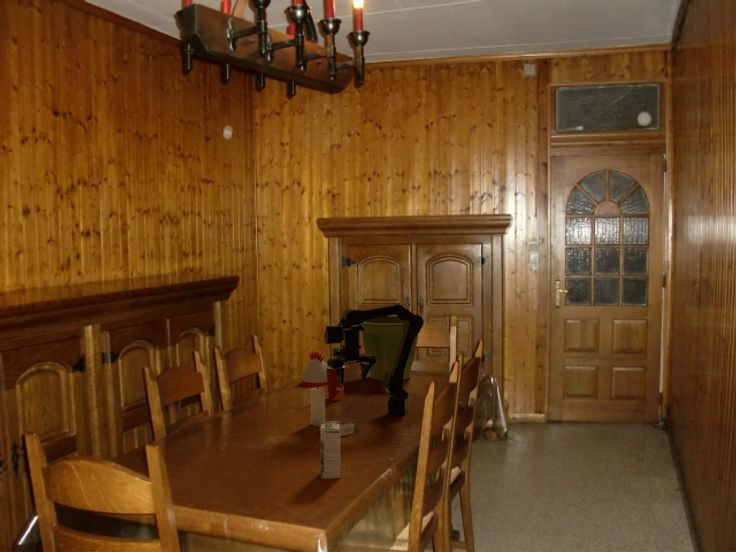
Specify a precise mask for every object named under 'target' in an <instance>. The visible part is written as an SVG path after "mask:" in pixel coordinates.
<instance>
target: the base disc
mask: <svg viewBox="0 0 736 552" xmlns="http://www.w3.org/2000/svg"><path fill="white" fill-rule="evenodd" d="M328 423H334V424H340V437H346V436H350V435H353V433H354V432H355V424H353V422H352V421H351V422H350V421H345V420H329V421H325V423H323V424H328ZM319 433H320V434H321V425H320V426H319ZM349 434H350V435H349ZM345 435H346V436H345Z"/></svg>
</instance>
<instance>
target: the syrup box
mask: <svg viewBox="0 0 736 552" xmlns="http://www.w3.org/2000/svg"><path fill="white" fill-rule="evenodd" d="M319 445H320V446H319V452H320V453H319V455H320V456H319V457H320V458H319V459H320V460H319V461H320V470H319V471H320V479H321V480H326V479H327V480H329V479H341V473H342V472H341V436H340V424H334V423H328V424H321V433H320V442H319Z"/></svg>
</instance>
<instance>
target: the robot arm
mask: <svg viewBox="0 0 736 552" xmlns="http://www.w3.org/2000/svg"><path fill="white" fill-rule="evenodd" d="M385 316H398V317H399V318H400V319H401V320H403V321H404V323H403V337H402V340H401V344H400V347H399V350H398V353H397V356H396V359H395V362H394V365H393V369H392V370H391V372H390V373H387V372H386V373H385V378H384V380H383V381H381V382H382V383H383V385H382V387H383V389H384V391H386V393H387V394H388V396H389V399H388V401H387V415H395V416H404V415H406V414H407V413H408V412H409V410H408V405H407V404H408V402H407V400H408V399H409V393H408V392H407V391H406V390H405V389H404V383H405V380H404V376H403V374H404V370H405V367H406V364H407V360H408V357H409V354H410V351H411V348H412V345H413V342H414V339H415V337H416V336H417V335H418V336H419V333H420V332H421V331H422V329H423V327H424V321H425V320H424V319H423V317H422V316H421V315H418V314H415V313H413V312H411V311H410V310H409V309H407V308H406V307H405V306H403V305H402V304H401V303H392V304H388V305H387V304H386V305H384V306H375V307H371V308H365V309H364V308H348V309H346V310H345V311H344V312H343V313H342V317H341V319H340V321H339V322H338V323H337V325H325V328H324V329H325V330H324V333H323V339H324V344H325V345H332V344H333V345H334V344H342V342H343V343H344V344H342V348H341V349H340V348H339V347H335V348H333V349H332V357H333V358H328V360H327V363H326V364H327V366H329V367H331V368H332V369H334V370H335V371H336V373H337V376H338V379H339V381H340V384H341V385H343V386H344V382H345V381H344V380H345V367H344V368H342V367H343V365H344V366H345V365H350V364H358V363H359V365H360V369H361V371H360V372H361V373H360V376H361V377H360V381H361V382H362V383H364V382H365V380H366V378H367V376H368V373H369V372H370V368H371V367H372V366H373V365H374V364H373V363H376V357H375V356H374V355H370V354H366V353H365V354H361V353H360V350H361V349H362V345H361V344H360V332H361V331H364V330H365V329H364V328H363V327H362V326H361V323H363V322H365V321H367V320H369V319H374V318H380V317H385Z"/></svg>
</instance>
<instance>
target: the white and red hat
mask: <svg viewBox="0 0 736 552" xmlns="http://www.w3.org/2000/svg"><path fill="white" fill-rule="evenodd" d="M308 356H309V359H310V361H309V362H308V363H307V364H306V366H305V368H304V369H303V370H304V371H303V373H302V378H301V382H302V385H303V386H308V387H324V386H328V385H327V371H326V368H325V367H326V364H327V363H326V362H325V361H324V356H322V354H320V353H319V351H311V353H309V354H308Z"/></svg>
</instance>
